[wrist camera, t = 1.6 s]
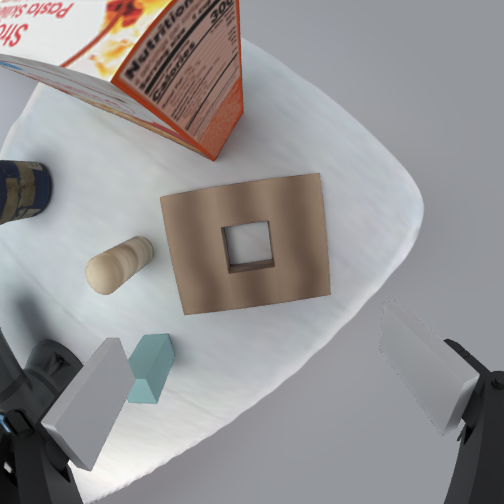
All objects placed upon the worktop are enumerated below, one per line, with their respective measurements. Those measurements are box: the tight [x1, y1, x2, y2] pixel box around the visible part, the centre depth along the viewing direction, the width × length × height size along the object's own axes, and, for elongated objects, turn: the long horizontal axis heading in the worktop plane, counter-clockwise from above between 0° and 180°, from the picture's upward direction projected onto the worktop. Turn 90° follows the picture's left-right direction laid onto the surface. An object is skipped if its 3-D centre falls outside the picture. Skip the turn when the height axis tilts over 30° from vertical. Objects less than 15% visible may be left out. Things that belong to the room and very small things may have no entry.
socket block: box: [160, 173, 331, 315], centre depth 36 cm, size 20×16×4 cm
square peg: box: [127, 334, 175, 404], centre depth 36 cm, size 4×4×12 cm
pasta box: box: [0, 0, 243, 161], centre depth 19 cm, size 23×8×30 cm, turn 61°
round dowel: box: [86, 236, 153, 295], centre depth 33 cm, size 4×4×12 cm
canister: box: [0, 160, 50, 225], centre depth 27 cm, size 10×10×18 cm
